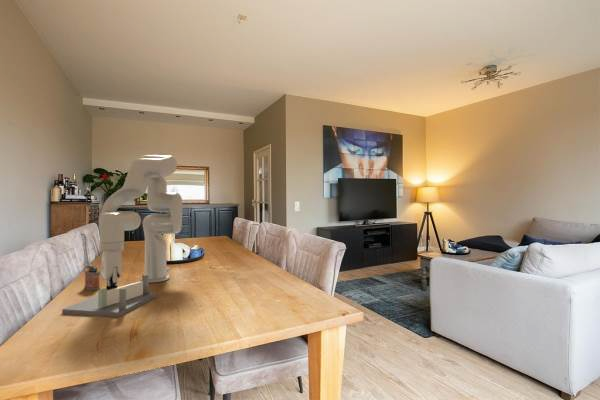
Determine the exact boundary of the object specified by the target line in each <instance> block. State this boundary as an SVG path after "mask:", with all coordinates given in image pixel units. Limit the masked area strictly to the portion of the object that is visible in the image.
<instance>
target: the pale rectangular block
mask: <svg viewBox="0 0 600 400" xmlns="http://www.w3.org/2000/svg"><path fill="white" fill-rule="evenodd" d="M121 288H126V300H127V299H130V298H133V297H137V296H140V295H143V282H142V281H141V280H139V281H137V282H133V283H129V284H125V285H122V286H117V288H114V289H110V290H107V289H106V288H100V289H99V290H97V295H98V307H100V308H103V307H106V306H109V305H112V304H115V303H118V302H119V289H121Z"/></svg>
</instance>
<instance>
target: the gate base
mask: <svg viewBox="0 0 600 400" xmlns="http://www.w3.org/2000/svg"><path fill="white" fill-rule="evenodd" d="M141 278H142V282H143V295H140V296H137V297H133V298H130V299H127V300H126V288H121V289H119V302H118V303H115V304H112V305H109V306H106V307H103V308H100V307H98V294H97V295H94V296H92V297H90V298H87V299H84V300H82V301H79V302H77V303H74V304H72V305H69V306H67V307H64V308H62V309H61V314H62V315H78V316H91V317H92V316H95V317H106V318H107V317H108V318H109V317H111V318H120V317H122V316H124V315H125V314H128V313H129V312H131V311H133V310H135V309H137V308H139V307H140V306H142V305H144V304H146V303H147V302H150V301H152V300H153V299H156V298H157V292H149V275H145V274H142V275H141Z"/></svg>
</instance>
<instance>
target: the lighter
mask: <svg viewBox="0 0 600 400" xmlns="http://www.w3.org/2000/svg"><path fill="white" fill-rule="evenodd" d="M86 269H88V270H85V271H84V289H85V290H88V291H92V292H93V291H98V290H99V289H101V287H100V275H101V271H99V270H98V266H96V265H91V264H89V265H86Z"/></svg>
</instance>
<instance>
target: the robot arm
mask: <svg viewBox="0 0 600 400" xmlns="http://www.w3.org/2000/svg"><path fill="white" fill-rule="evenodd" d="M177 168H178V161H177V160H176V158H175V156H174V155H167V154H166V155H162V154H161V155H159V154H146V155H145V154H144V155H141V156H139V157H138V158H136V159H134V160H133V161H131V164H130V167H129V168H128V171H127V175H126V178H125V181H124V183H123V185H122V187H120V188H119V189H118V190H116V191H115V192H113V193H112V194H111V195H110V196H109V197H107V199H106V200H105V202H104V203H103V205H102V208H101V210H100V213H99V216H98V225H99V252H102V253H101V265H100V266H101V269H100V275H101V277H102V278H103V279H104V280H106V286H105V287H106V288H105V289H107V290H110V289H114V288H117V287H118V279H120V278H121V277H122V251H124V250H125V232H126V231H127V232H128V231H135V230H137V229H138V228H139V227H140V226H141V224H142V228H143V234H144V275H149V283H160V282H165V281H167V280H169V279H170V275H169V274H168V272H170V270H171V268H170V267H167V245H168V244H167V240H166V239H165V237H164V236H163V235H177V234H179V233H180V232H181V230H182V226H183V197H182V196H181V195H180V193H179V192H175V191H172V192H171V191H167V189H168V188H167V187H168V186H167V184H168V183H167V180H166V177H169V176H170V175H173V174H174V173H175V172H176V170H177ZM145 193H147V195H146V205H147V209H148V210H149V211H151V212H157V214H156V213H155V214H148V215H146V216H145V217H144V218H143V220H142V217H141V215H140V214H139V213H138V212H135V211H130V210H129V211H128V210H127V211H126V210H125V211H123V210H118V209H119V208H120V207H121V206H122V205H124V204H126V203H128V202H131V201H133V200H134V201H135V200H137V199H138V198H141V197H143V196H144V195H145ZM161 212H167V213H170V214H164V213H163V214H160V213H161ZM140 281H142V277H141V278H140Z"/></svg>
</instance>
